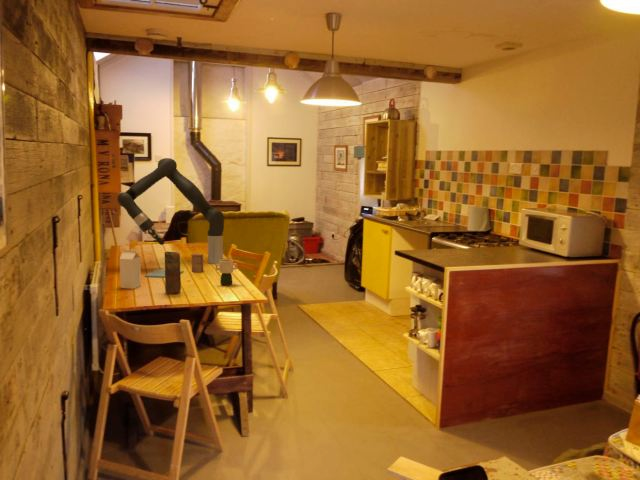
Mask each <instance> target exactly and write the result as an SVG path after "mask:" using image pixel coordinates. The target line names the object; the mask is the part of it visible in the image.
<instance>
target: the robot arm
mask: <svg viewBox="0 0 640 480" xmlns="http://www.w3.org/2000/svg"><path fill="white" fill-rule="evenodd" d="M177 167H178V165H177V162H176V161H175V160H174V159H172V158H170V157H169V158H167V157H165V158H161V159H160V160H158V162H157V167H156V168H155V169H154V170H152V171H151V172H150V173H148V174H146V175H145V176H143V177H142V178H139V179H138V180H137V181H136V182H134V183H133V184H132V185H131V186H130V187H129V188H128V189H127V190H126V191H124V192H120V193H119V194H118V195H117V200H116V201H117V204H118V205H119V206H120V207H123V209H124V210H125V211H126V212H127V214H128V216H129V217H130V218H131V219H132V221H133V222H134V224H136V226H138V228H139V229H140V230H141V231H142V232H143V233H146V232H147V233H148V235H150V236H151V238H153V239H154V240H155V241H156V242H158V244H160V245H159V246H163V245H164V244H165V241H164V240H163V238H162V237H161V236H160V234H159V233H158V231H157V230H156V229H155V228H153V227H154V226H155V223H154V222H153V221H152V219H151V218H150V217H149V216H148V215H147V214H146V213H145V212H144V211H143V210H142V208H140V207H139V205H137V203H136V202H135V200H136V199H137V198H138V197H140V196H142V194H144V193H145V192H147V190H149V189H151V188H152V187H153V186H154V185H155V184H156V183H158V182H159V181H160V180H162V179H164V178H165V177H166V178H167V179H168V180H169V181H170V182H171V183H173V185H174V186H175V188H177V190H178V191H179V192H180V193H181V194H182V196H184V198H185V199H187V200H188V201H189V202H190V203H191V205H193V206H194V207H195V208H196V209H197V210H198V211H199V212H200V213H201V215H202V216H203V217H204V218H205V220H206V221H207V222H208V223H209V224H208V225H209V226H208V230H207V264H212V265H213V264H214V265H216V264H219V260H222V259H224V244H223V243H224V241H223V240H224V238H223V235H224V230H225V216H224V213H223V212H222V211H221V210H219V209H216V208H215V207H213V206H212V205H211V204H210V203H209V202H208V201H207V199H206V197H205V196H204V194H203V193H202V191H201V190H200V189H199V187H197V185H196V184H194V183H193V182H192V181H191V180H190V179H188V178H187V177H186V176H184V175H183V174H182V173H181V172H180V171H179V170H178V169H177Z"/></svg>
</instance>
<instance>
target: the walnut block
mask: <svg viewBox="0 0 640 480" xmlns="http://www.w3.org/2000/svg"><path fill="white" fill-rule="evenodd" d="M192 272H193V273H196V274H200V273H202V272H204V254H203V253H193V254H191V273H192Z"/></svg>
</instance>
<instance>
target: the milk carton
mask: <svg viewBox="0 0 640 480" xmlns="http://www.w3.org/2000/svg"><path fill="white" fill-rule="evenodd" d="M119 274H120V277H119V278H120V288H121V289H133V290H134V289H136V288H139V287H141V286H142V285H141V284H142V282H141V280H142V279H141V278H142V277H141V257H140V255H139V253H138V252H137V250H135V249H123V250H122V253H121V254H120V257H119Z"/></svg>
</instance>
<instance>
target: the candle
mask: <svg viewBox="0 0 640 480" xmlns="http://www.w3.org/2000/svg"><path fill="white" fill-rule="evenodd" d="M180 256H181V254H180V253H179V252H177V251H164V270H165V278H164V285H165V286H164V288H165V290H164V291H165V294H167V295H172V294H178V293H180V292H181V290H182V284H181V283H182V282H181V279H182V278H181V274H180V271H181V257H180Z"/></svg>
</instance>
